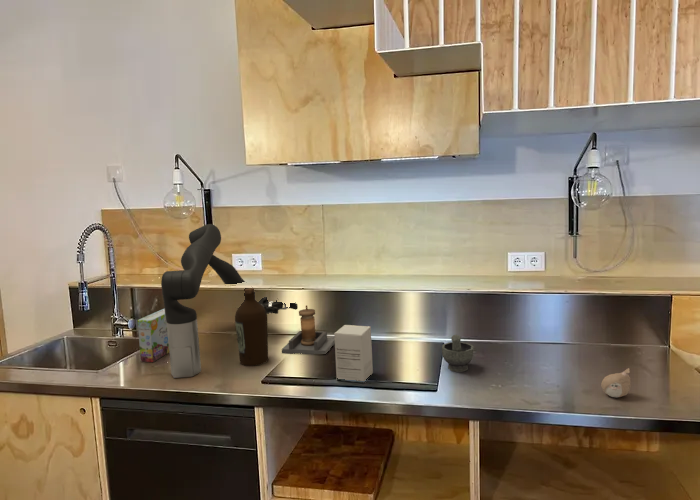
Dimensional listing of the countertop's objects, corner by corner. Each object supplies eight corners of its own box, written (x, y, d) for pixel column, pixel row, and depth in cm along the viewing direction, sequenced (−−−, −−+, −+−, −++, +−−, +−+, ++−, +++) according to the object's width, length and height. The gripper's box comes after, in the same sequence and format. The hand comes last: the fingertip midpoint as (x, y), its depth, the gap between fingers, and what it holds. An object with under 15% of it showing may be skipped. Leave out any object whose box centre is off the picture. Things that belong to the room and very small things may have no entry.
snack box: (154, 362, 175) (150, 320, 173) (140, 362, 176) (135, 319, 174) (186, 343, 196) (182, 304, 194) (173, 342, 197) (169, 304, 195)
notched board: (336, 342, 189) (335, 330, 188) (325, 355, 175) (325, 342, 175) (295, 340, 193) (294, 329, 192) (281, 353, 179) (281, 340, 179)
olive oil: (264, 353, 179) (260, 284, 176) (274, 362, 170) (269, 289, 167) (234, 359, 175) (229, 288, 171) (242, 369, 165) (237, 293, 162)
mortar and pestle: (444, 361, 164) (443, 325, 163) (474, 363, 162) (474, 326, 160) (440, 374, 154) (439, 336, 152) (472, 376, 151) (471, 337, 149)
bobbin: (317, 345, 181) (315, 307, 179) (301, 346, 181) (298, 309, 179) (316, 340, 187) (314, 304, 185) (301, 341, 186) (298, 305, 185)
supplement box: (346, 370, 160) (344, 324, 158) (373, 372, 157) (371, 325, 155) (335, 381, 152) (333, 332, 150) (364, 384, 149) (362, 334, 147)
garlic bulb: (621, 403, 130) (622, 373, 129) (596, 395, 135) (597, 366, 134) (634, 396, 134) (635, 367, 132) (609, 388, 139) (610, 360, 138)
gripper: (248, 296, 198) (270, 302, 185) (279, 290, 207) (302, 295, 194) (249, 315, 199) (271, 322, 186) (280, 308, 208) (303, 315, 195)
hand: (287, 308), depth 190 cm, fingers open, 8 cm apart
